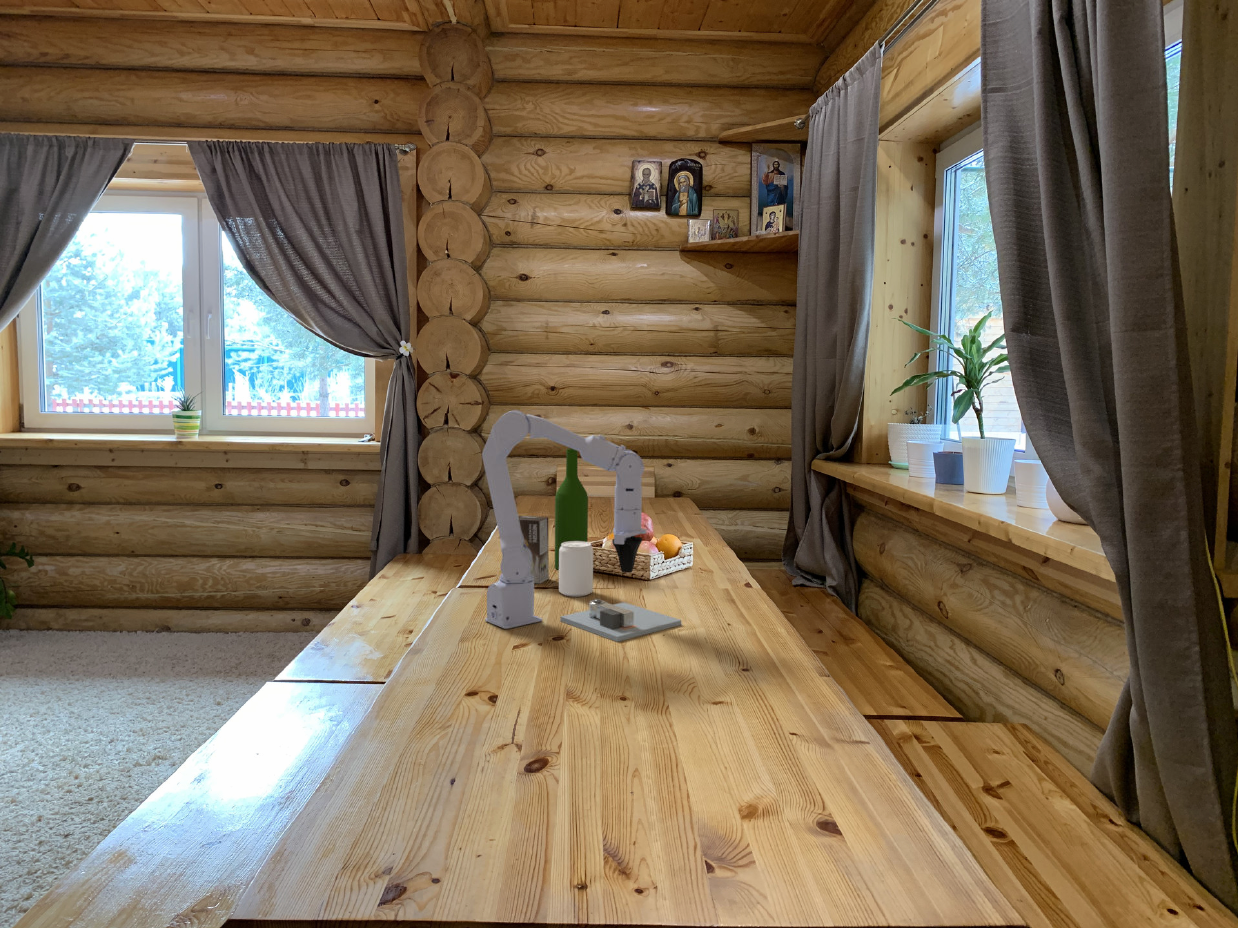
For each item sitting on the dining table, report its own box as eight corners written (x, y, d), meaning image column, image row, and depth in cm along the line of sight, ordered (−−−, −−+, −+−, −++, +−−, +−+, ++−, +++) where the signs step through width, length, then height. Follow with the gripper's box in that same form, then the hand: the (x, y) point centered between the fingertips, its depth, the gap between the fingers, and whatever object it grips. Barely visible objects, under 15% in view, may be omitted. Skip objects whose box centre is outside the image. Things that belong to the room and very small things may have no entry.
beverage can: (591, 597, 190) (592, 547, 189) (557, 597, 191) (557, 546, 189) (593, 589, 198) (594, 540, 197) (560, 588, 199) (560, 540, 197)
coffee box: (549, 578, 209) (550, 516, 207) (540, 584, 203) (540, 520, 201) (517, 575, 212) (517, 514, 210) (506, 581, 205) (506, 518, 204)
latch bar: (585, 614, 172) (585, 599, 171) (598, 611, 174) (598, 596, 174) (622, 627, 163) (622, 611, 162) (635, 624, 165) (635, 608, 165)
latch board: (617, 641, 158) (617, 621, 158) (560, 620, 171) (560, 602, 171) (681, 624, 170) (681, 606, 170) (623, 606, 183) (623, 589, 183)
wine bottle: (593, 566, 223) (595, 448, 220) (574, 573, 215) (575, 450, 212) (567, 562, 228) (568, 447, 224) (547, 568, 220) (548, 449, 217)
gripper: (638, 514, 163) (637, 580, 164) (654, 504, 177) (653, 565, 178) (604, 512, 165) (603, 578, 166) (622, 502, 179) (621, 563, 180)
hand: (627, 571), depth 172 cm, fingers closed
